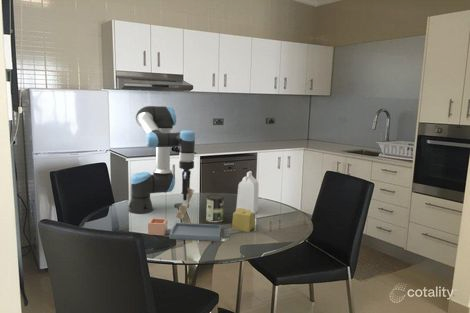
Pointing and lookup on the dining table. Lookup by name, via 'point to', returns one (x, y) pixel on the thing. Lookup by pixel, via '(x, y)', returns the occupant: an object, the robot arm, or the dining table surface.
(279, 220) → the dining table surface
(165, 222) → the pink open cubby
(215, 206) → the coffee can
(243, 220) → the cheese
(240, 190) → the milk
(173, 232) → the slate tray
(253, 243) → the dining table surface
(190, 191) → the light wooden bar
